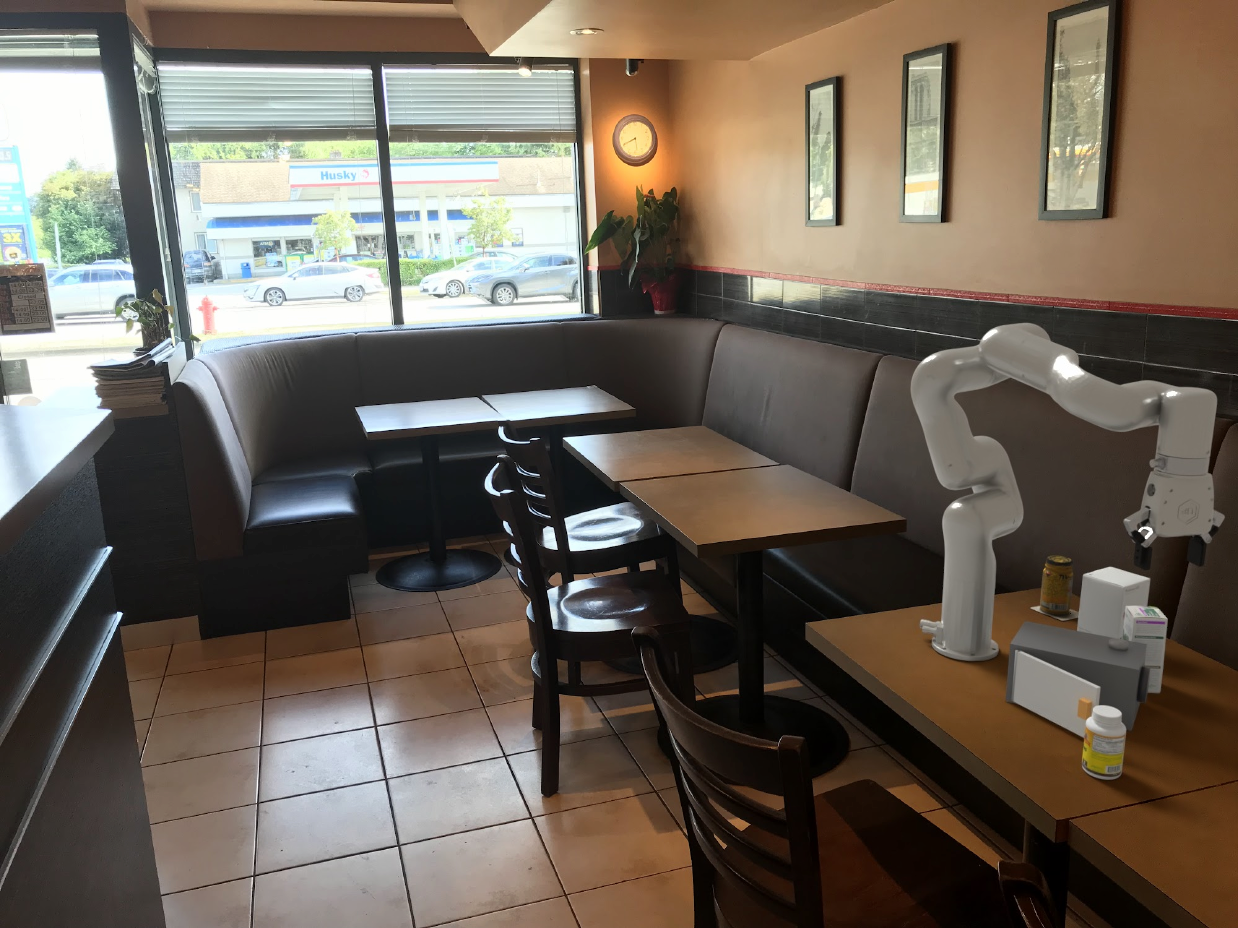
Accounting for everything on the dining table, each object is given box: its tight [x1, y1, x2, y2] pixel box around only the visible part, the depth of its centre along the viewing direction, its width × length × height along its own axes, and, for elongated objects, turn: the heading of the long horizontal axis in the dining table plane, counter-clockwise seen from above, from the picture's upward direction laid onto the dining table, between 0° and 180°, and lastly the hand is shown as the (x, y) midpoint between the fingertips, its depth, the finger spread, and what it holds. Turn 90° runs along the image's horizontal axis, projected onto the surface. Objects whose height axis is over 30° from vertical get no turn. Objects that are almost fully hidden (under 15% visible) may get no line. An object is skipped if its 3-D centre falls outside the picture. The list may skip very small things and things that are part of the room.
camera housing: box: [1005, 620, 1150, 732], centre depth 170 cm, size 21×12×12 cm, turn 56°
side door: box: [1011, 650, 1101, 739], centre depth 163 cm, size 16×2×9 cm, turn 26°
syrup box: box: [1122, 605, 1168, 694], centre depth 175 cm, size 6×6×14 cm
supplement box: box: [1076, 566, 1151, 639], centre depth 192 cm, size 9×9×15 cm
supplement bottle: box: [1081, 705, 1127, 781], centre depth 148 cm, size 6×6×10 cm
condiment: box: [1030, 555, 1079, 621], centre depth 210 cm, size 7×8×12 cm
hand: (1168, 565), depth 160 cm, fingers open, 9 cm apart
